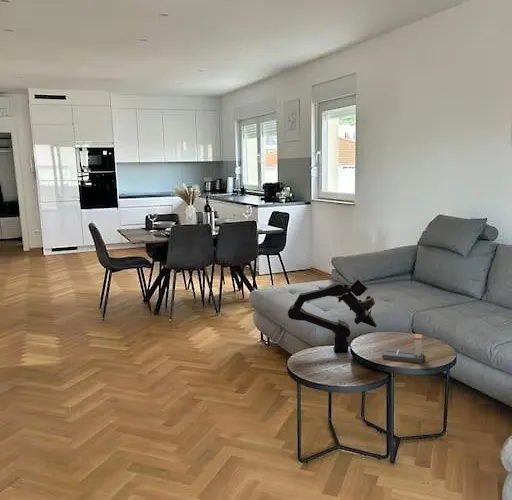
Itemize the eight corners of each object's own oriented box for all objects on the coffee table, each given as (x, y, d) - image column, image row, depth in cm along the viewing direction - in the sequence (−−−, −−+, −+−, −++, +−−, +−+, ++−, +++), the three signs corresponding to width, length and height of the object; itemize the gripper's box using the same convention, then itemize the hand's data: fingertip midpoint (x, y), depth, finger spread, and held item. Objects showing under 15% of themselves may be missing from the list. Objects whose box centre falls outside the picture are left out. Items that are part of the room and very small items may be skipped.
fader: (413, 355, 231) (414, 337, 230) (414, 351, 236) (414, 333, 234) (420, 356, 230) (421, 338, 228) (421, 352, 235) (422, 334, 233)
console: (382, 358, 235) (382, 354, 234) (385, 351, 244) (385, 347, 243) (422, 362, 228) (422, 358, 227) (423, 355, 237) (423, 350, 237)
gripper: (361, 297, 230) (385, 321, 228) (368, 287, 247) (390, 310, 245) (344, 312, 234) (368, 336, 232) (352, 301, 251) (374, 324, 249)
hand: (375, 326), depth 239 cm, fingers closed
